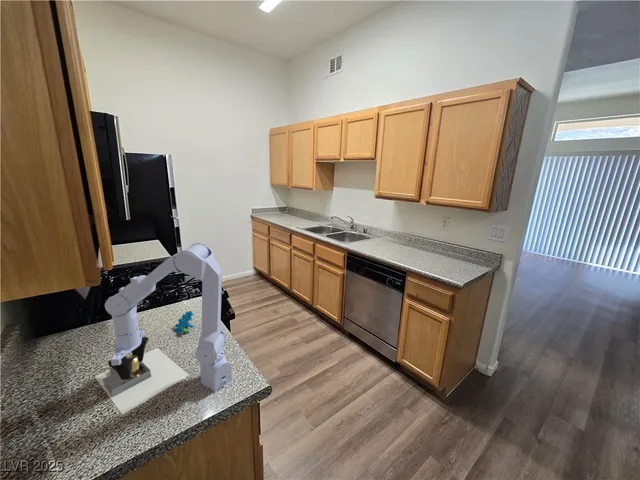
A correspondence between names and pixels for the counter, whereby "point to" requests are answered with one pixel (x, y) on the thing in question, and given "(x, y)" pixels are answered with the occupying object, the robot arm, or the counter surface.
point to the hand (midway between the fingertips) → (132, 369)
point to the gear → (184, 323)
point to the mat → (147, 381)
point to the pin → (134, 366)
